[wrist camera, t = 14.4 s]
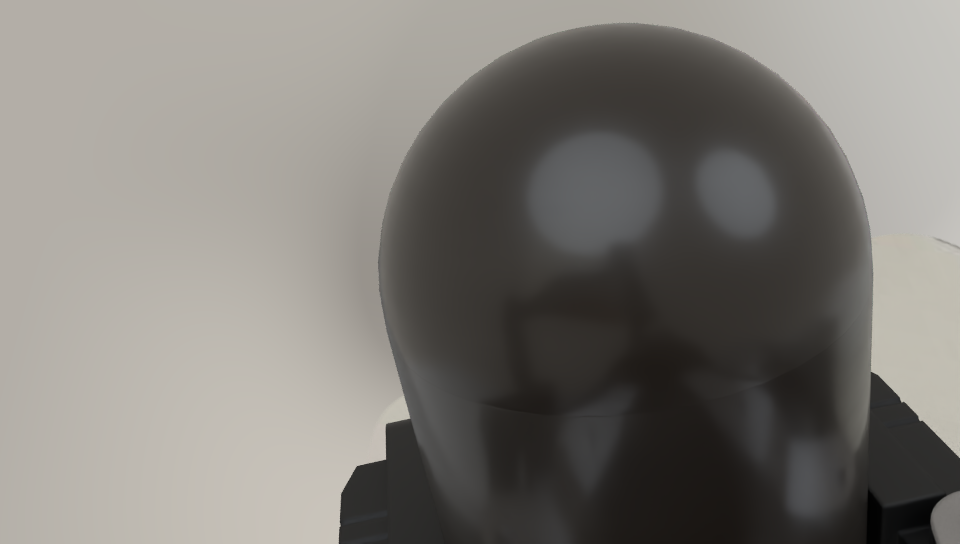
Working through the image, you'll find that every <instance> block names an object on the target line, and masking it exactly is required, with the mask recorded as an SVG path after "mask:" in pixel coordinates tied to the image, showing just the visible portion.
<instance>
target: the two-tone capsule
mask: <svg viewBox="0 0 960 544" xmlns="http://www.w3.org/2000/svg"><path fill="white" fill-rule="evenodd" d="M378 269H379V291H380V297H381V304H382V309H383V314H384V319H385V324H386V329H387V334H388V337H389V341H390V345H391V349H392V352H393V356H394V359H395V363H396V367H397V371H398V374H399V377H400V382H401V385H402V389H403V393H404V396H405V400H406V404H407V407H408V411H409V415H410V418H411V422H412V426H413V429H414V433H415V436H416V440H417V444H418V447H419V451H420V455H421V458H422V462H423V466H424V469H425V473H426V477H427V480H428V484H429V488H430V491H431V495H432V499H433V502H434V506H435V510H436V513H437V517H438V521H439V524H440V528H441V531H442V535H443V539H444V542H445V544H867V505H868V465H869V425H870V386H871V346H872V306H873V261H872V244H871V233H870V226H869V221H868V217H867V212H866V208H865V204H864V199H863V196H862V193H861V191H860V189H859V186H858V183H857V181H856V178H855V176H854V173H853V171H852V168H851V166H850V164H849V161H848V159H847V157H846V155H845V153H844V152H843V150H842V148H841V147H840V145H839V143H838V142H837V140H836V138H835V136H834V135H833V133H832V131H831V130H830V128H829V127H828V126H827V125H826V123H825V122H824V121H823V120H822V119H821V117H820V116H819V115H818V114H817V112H816V111H815V110H814V109H813V108H812V106H811V105H810V104H809V103H808V102H807V101H806V100H805V98H804V97H803V96H802V95H801V94H799V93H798V92H797V91H796V90H795V89H794V88H793V87H792V86H790V85H789V84H788V83H787V82H786V81H785V80H784V79H782V78H781V77H780V76H779V75H778V74H776V73H775V72H773V71H772V70H770V69H769V68H767V67H766V66H764V65H763V64H761V63H760V62H758V61H757V60H755V59H754V58H752V57H750V56H749V55H747V54H746V53H744V52H742V51H739V50H737V49H735V48H733V47H731V46H728V45H726V44H724V43H722V42H720V41H717V40H715V39H713V38H710V37H707V36H703V35H699V34H696V33H692V32H689V31H685V30H682V29H678V28H674V27H667V26H658V25H649V24H639V23H613V24H601V25H593V26H587V27H581V28H576V29H571V30H567V31H562V32H558V33H554V34H551V35H548V36H545V37H542V38H539V39H537V40H534V41H532V42H530V43H528V44H525V45H523V46H521V47H519V48H517V49H515V50H513V51H510V52H509V53H506V54H504V55H503V56H501V57H499V58H498V59H496V60H494V61H493V62H492V63H490V64H489V65H487V66H486V67H484V68H483V69H482V70H480V71H479V72H477V73H476V74H474V75H473V76H471V77H470V78H469V79H468V80H467V81H465V82H464V83H463V84H462V85H461V86H460V87H459V88H458V89H457V90H456V91H455V92H454V93H453V94H451V95H450V96H449V97H448V98H447V99H446V100H445V101H444V102H443V103H442V105H441V106H440V107H439V108H438V109H437V111H436V112H435V114H434V115H433V116H432V117H431V118H430V120H429V121H428V122H427V123H426V125H425V126H424V127H423V128H422V130H421V131H420V132H419V134H418V136H417V138H416V139H415V141H414V143H413V144H412V146H411V148H410V149H409V151H408V153H407V155H406V156H405V158H404V161H403V163H402V165H401V167H400V169H399V172H398V175H397V177H396V179H395V182H394V184H393V187H392V189H391V192H390V195H389V199H388V203H387V207H386V211H385V215H384V219H383V223H382V230H381V239H380V250H379V259H378Z"/></svg>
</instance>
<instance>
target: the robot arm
mask: <svg viewBox="0 0 960 544" xmlns="http://www.w3.org/2000/svg"><path fill="white" fill-rule="evenodd" d="M340 511H341V512H340V524H341V527H340V529H339V544H445V542H444V539H443V535H442V531H441V528H440V524H439V521H438V517H437V513H436V510H435V506H434V502H433V499H432V495H431V491H430V488H429V484H428V480H427V477H426V473H425V469H424V466H423V462H422V458H421V455H420V451H419V447H418V444H417V440H416V436H415V433H414V429H413V426H412V422H411V419H407V420H402V421H397V422H393V423H388V424H386V460H383V461H378V462H374V463H369V464H365V465H360V466H357V467H356V469H355V470H354V472H353V474H352V476H351V478H350V479H349V481H348V483H347V485H346V486H345V488H344V490H343V492H342V494H341V510H340ZM867 544H960V458H959V457H958V456H957V455H956V454H955V453H954V452H953V451H952V450H951V449H950V448H949V447H948V446H947V445H946V444H945V443H944V442H943V441H942V440H941V439H940V438H939V437H938V436H937V435H936V434H935V433H934V432H933V431H932V430H931V429H930V428H929V427H928V426H927V425H926V424H925V423H924V422H923V421H919V419H918V415H917V414H916V413H915V412H914V411H913V410H912V409H911V408H910V407H909V406H908V405H907V404H906V403H905V402H902V403H901V401H900V397H899V396H898V395H897V394H896V393H895V392H894V391H893V390H892V389H891V388H890V387H889V386H888V385H887V384H886V383H885V382H884V381H883V380H882V379H881V378H880V377H879V376H878V375H876V374H874V373H872V372H871V386H870V425H869V465H868V505H867Z"/></svg>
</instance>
